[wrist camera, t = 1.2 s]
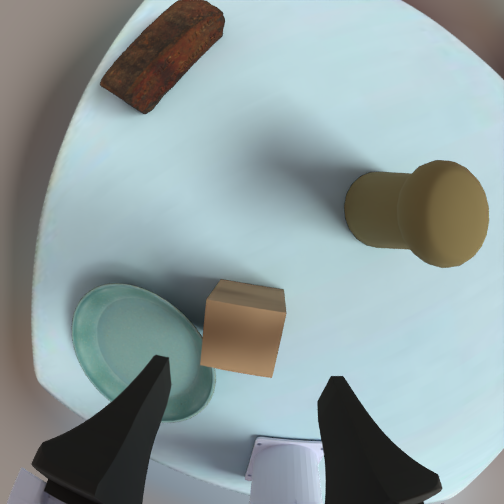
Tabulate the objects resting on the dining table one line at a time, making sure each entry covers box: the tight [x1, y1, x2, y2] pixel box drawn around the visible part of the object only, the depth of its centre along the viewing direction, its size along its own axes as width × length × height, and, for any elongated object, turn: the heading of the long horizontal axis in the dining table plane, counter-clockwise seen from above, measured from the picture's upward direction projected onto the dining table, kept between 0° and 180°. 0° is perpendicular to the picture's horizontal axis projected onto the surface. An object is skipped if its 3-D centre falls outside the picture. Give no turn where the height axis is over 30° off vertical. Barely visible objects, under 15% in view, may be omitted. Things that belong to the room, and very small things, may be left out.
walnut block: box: [200, 279, 286, 378], centre depth 20 cm, size 5×5×5 cm
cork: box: [344, 160, 489, 268], centre depth 14 cm, size 6×6×11 cm
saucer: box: [72, 283, 216, 423], centre depth 22 cm, size 15×15×3 cm
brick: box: [100, 0, 225, 114], centre depth 17 cm, size 11×4×5 cm, turn 142°
